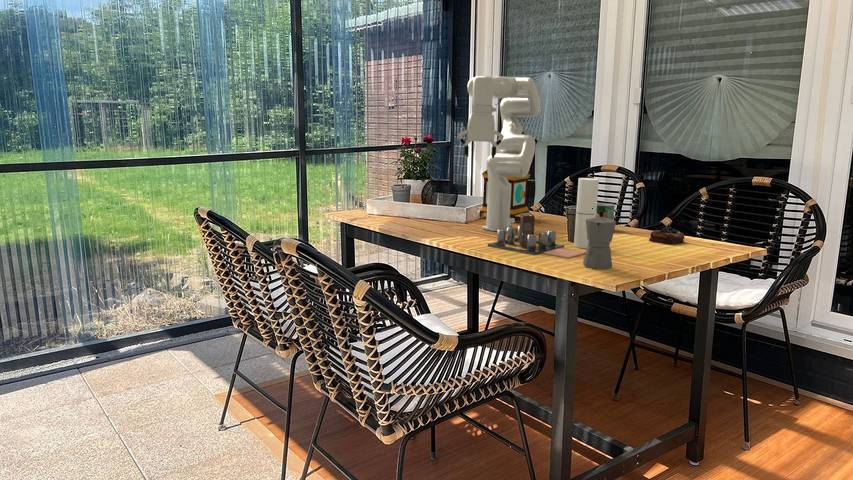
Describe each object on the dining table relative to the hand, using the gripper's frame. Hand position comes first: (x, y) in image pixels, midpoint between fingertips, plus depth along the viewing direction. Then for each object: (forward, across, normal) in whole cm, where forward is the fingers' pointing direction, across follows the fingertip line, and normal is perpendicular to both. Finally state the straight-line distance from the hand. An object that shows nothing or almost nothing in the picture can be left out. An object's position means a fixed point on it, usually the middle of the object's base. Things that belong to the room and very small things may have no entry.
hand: (479, 157), depth 245 cm
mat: (+31, -29, +23) cm, 48 cm away
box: (+32, -17, +12) cm, 38 cm away
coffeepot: (+32, -36, +41) cm, 63 cm away
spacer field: (+31, -17, +12) cm, 38 cm away
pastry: (+31, -75, -4) cm, 82 cm away
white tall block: (+31, -39, +9) cm, 51 cm away
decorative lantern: (+31, -18, -54) cm, 65 cm away
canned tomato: (+31, -57, -29) cm, 71 cm away
